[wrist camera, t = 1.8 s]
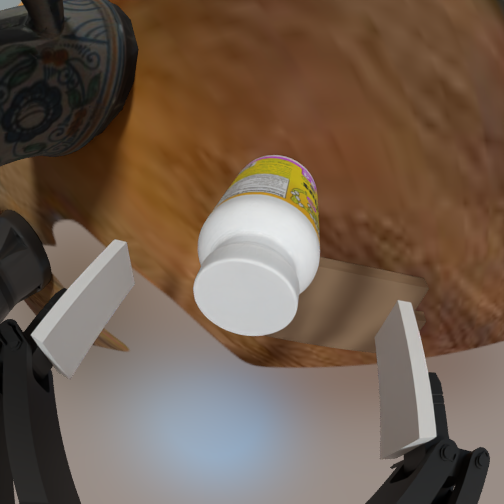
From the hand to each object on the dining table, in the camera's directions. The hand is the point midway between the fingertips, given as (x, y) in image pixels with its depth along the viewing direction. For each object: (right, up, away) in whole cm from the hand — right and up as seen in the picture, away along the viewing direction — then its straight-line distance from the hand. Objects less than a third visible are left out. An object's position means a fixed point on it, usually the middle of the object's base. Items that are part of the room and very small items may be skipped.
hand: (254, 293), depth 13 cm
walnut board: (+10, -4, +15) cm, 18 cm away
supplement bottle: (+2, +7, +10) cm, 12 cm away
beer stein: (-16, +20, +5) cm, 27 cm away
